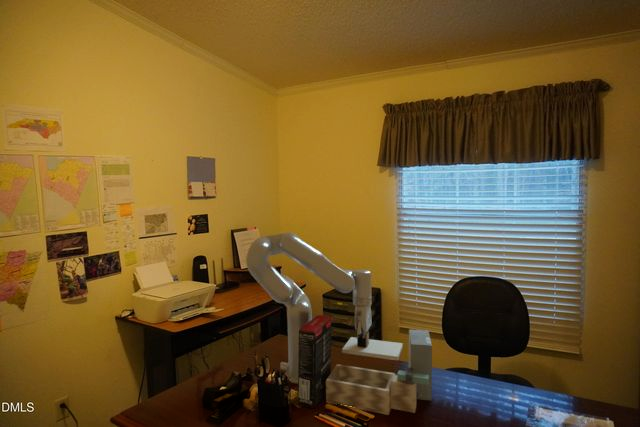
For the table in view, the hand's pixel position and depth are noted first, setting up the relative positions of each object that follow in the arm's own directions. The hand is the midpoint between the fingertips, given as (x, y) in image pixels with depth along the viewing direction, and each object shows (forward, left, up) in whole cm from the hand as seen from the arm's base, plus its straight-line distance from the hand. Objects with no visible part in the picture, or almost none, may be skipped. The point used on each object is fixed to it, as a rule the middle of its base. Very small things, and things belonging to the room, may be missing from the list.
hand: (363, 344), depth 148 cm
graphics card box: (-12, -22, -12) cm, 28 cm away
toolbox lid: (+4, 0, -2) cm, 4 cm away
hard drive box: (+23, -5, -12) cm, 26 cm away
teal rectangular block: (+22, -19, -2) cm, 29 cm away
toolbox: (+8, -19, -12) cm, 23 cm away
